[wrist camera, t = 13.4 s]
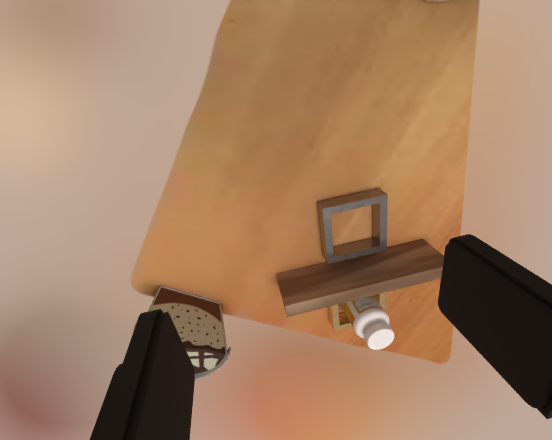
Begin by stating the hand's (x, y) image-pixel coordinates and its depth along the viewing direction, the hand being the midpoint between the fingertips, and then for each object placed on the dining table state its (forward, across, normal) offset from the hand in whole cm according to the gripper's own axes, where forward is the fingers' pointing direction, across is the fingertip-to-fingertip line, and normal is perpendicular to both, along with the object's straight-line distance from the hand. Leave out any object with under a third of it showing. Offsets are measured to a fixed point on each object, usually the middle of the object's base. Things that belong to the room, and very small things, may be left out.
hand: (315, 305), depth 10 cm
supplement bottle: (+28, -12, +28) cm, 42 cm away
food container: (+28, +15, +23) cm, 39 cm away
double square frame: (+28, -12, +22) cm, 38 cm away
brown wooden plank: (+28, -12, +22) cm, 38 cm away
